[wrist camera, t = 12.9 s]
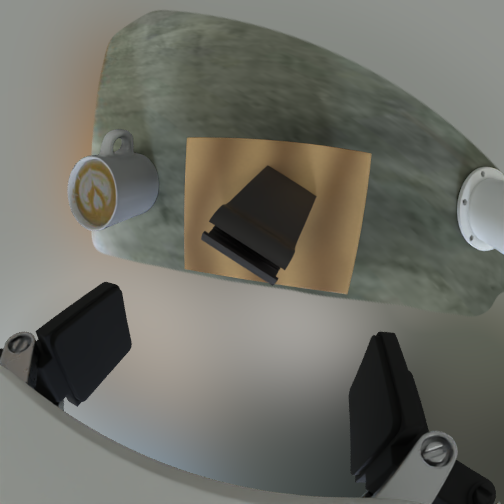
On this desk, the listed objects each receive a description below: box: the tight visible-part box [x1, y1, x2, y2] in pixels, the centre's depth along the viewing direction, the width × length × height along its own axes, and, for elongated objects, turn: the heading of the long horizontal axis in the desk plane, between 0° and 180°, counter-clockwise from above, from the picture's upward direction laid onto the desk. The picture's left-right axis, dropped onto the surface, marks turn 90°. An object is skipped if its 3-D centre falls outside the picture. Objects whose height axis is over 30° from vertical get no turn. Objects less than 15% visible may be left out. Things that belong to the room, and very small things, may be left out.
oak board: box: [184, 137, 371, 294], centre depth 30 cm, size 20×16×1 cm
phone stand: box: [201, 165, 317, 285], centre depth 24 cm, size 9×6×12 cm, turn 149°
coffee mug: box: [68, 129, 159, 231], centre depth 34 cm, size 13×10×10 cm
